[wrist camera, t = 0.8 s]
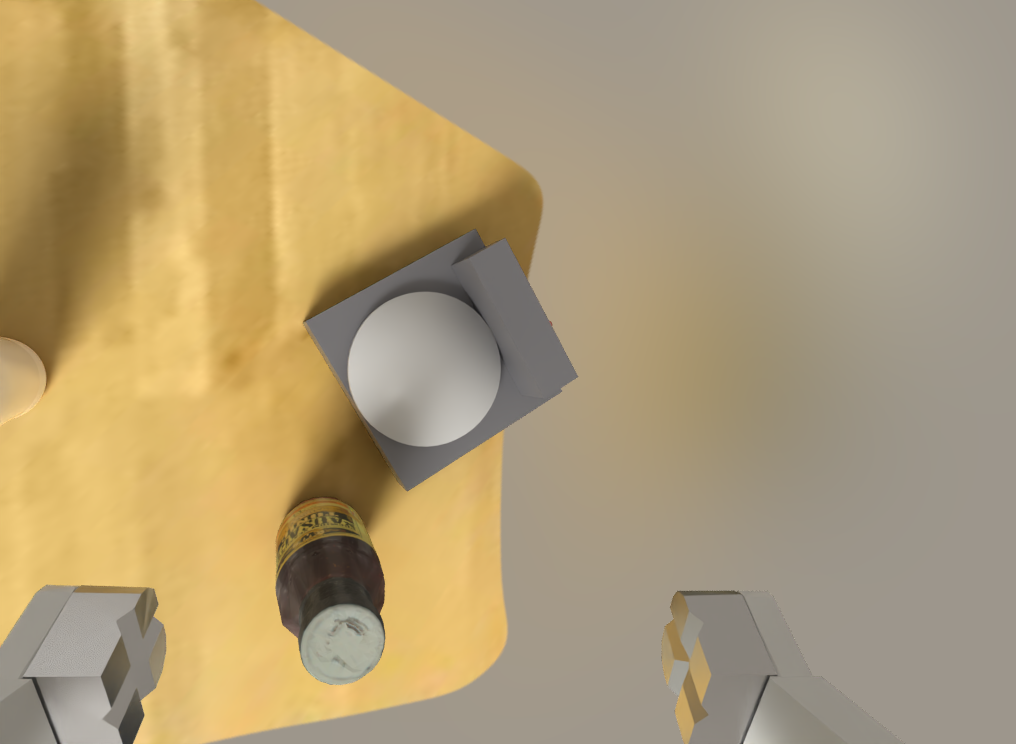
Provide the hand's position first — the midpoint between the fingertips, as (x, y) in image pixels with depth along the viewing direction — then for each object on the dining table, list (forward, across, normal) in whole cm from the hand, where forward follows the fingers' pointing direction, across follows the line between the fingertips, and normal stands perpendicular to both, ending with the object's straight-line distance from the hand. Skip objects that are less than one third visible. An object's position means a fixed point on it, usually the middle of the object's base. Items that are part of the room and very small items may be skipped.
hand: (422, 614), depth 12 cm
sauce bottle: (+32, +9, +29) cm, 44 cm away
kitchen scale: (+41, +1, +18) cm, 45 cm away
